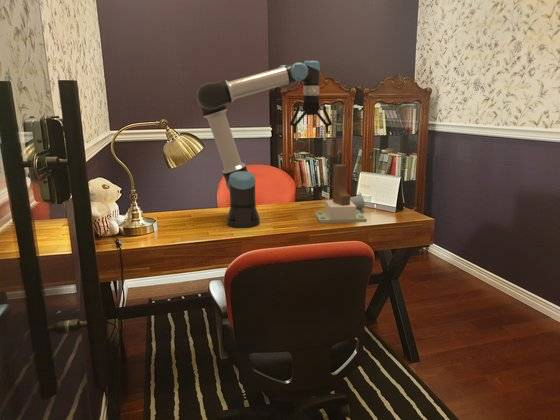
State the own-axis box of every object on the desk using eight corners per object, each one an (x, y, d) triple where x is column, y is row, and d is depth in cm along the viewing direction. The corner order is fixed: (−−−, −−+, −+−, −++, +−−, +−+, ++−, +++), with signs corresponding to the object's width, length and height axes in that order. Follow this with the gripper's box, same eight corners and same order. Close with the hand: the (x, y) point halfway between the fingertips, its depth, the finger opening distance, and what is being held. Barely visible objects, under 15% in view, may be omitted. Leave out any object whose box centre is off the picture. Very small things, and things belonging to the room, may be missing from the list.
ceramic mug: (343, 209, 230) (344, 195, 228) (358, 208, 232) (358, 194, 230) (352, 215, 220) (352, 199, 218) (367, 213, 222) (368, 198, 220)
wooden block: (350, 204, 208) (351, 166, 203) (341, 205, 206) (342, 167, 202) (340, 200, 216) (341, 164, 211) (332, 201, 214) (333, 164, 210)
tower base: (319, 223, 205) (319, 207, 203) (315, 215, 219) (315, 200, 217) (366, 221, 207) (367, 206, 205) (359, 214, 220) (359, 199, 218)
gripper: (285, 95, 207) (285, 141, 213) (338, 95, 208) (337, 140, 213) (284, 95, 215) (284, 139, 220) (336, 95, 215) (335, 139, 221)
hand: (310, 140), depth 217 cm, fingers open, 13 cm apart
